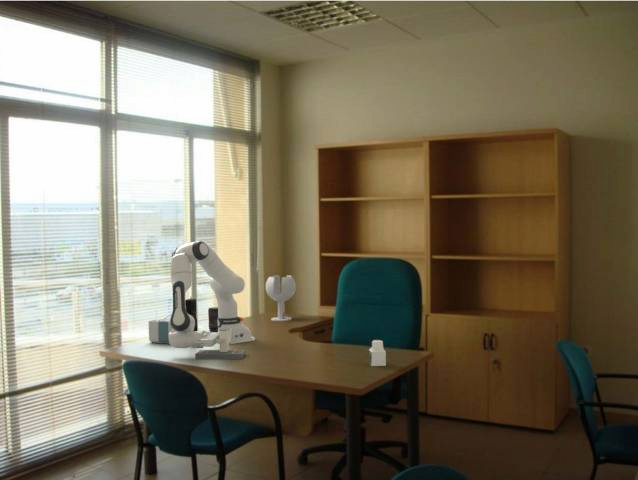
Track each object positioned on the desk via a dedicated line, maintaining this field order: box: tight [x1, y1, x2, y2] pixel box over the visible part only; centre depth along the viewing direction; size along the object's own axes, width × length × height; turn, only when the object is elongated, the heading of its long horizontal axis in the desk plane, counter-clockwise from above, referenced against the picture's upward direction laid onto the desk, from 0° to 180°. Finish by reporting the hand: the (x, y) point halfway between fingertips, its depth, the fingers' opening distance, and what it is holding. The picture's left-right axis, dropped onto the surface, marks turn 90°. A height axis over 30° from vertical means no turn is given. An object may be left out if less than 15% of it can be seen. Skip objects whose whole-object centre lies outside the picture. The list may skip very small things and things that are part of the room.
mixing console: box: [194, 349, 246, 360], centre depth 353 cm, size 24×11×3 cm, turn 86°
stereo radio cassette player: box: [148, 313, 173, 345], centre depth 393 cm, size 21×8×20 cm, turn 68°
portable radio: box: [185, 297, 199, 331], centre depth 410 cm, size 8×6×25 cm
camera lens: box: [207, 306, 218, 332], centre depth 427 cm, size 8×8×15 cm
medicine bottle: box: [368, 338, 387, 367], centre depth 330 cm, size 7×7×12 cm
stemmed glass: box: [265, 274, 297, 322], centre depth 470 cm, size 20×20×30 cm
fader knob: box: [219, 328, 230, 352], centre depth 353 cm, size 4×5×12 cm
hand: (225, 339), depth 353 cm, fingers closed on fader knob, 5 cm apart
